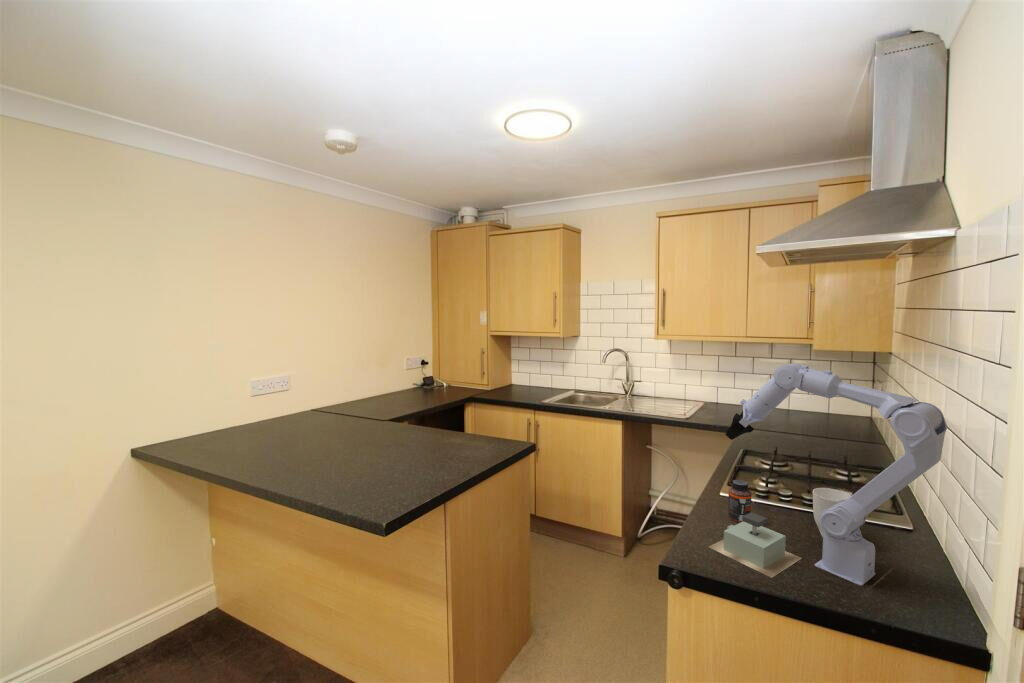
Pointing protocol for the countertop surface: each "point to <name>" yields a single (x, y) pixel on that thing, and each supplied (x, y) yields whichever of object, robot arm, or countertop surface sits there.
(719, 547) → the board
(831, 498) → the mug
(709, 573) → the countertop surface
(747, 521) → the grey square plunger
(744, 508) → the supplement bottle
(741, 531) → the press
